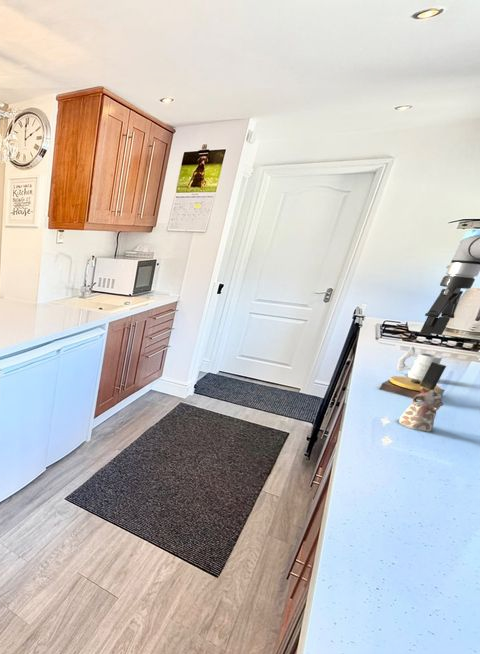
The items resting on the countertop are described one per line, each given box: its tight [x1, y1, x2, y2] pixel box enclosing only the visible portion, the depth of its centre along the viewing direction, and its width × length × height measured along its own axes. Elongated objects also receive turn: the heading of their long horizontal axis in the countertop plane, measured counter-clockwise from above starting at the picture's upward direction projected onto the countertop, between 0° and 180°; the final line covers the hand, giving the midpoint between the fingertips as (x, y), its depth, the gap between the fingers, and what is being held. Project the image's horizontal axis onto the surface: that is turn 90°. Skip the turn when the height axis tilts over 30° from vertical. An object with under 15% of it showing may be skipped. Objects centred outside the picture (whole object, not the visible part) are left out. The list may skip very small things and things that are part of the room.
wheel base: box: [379, 379, 446, 401], centre depth 150 cm, size 14×14×2 cm
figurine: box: [398, 388, 444, 433], centre depth 121 cm, size 7×7×12 cm
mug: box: [396, 346, 443, 380], centre depth 165 cm, size 8×12×12 cm, turn 39°
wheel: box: [389, 362, 447, 392], centre depth 147 cm, size 13×13×10 cm
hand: (430, 334), depth 150 cm, fingers open, 13 cm apart
